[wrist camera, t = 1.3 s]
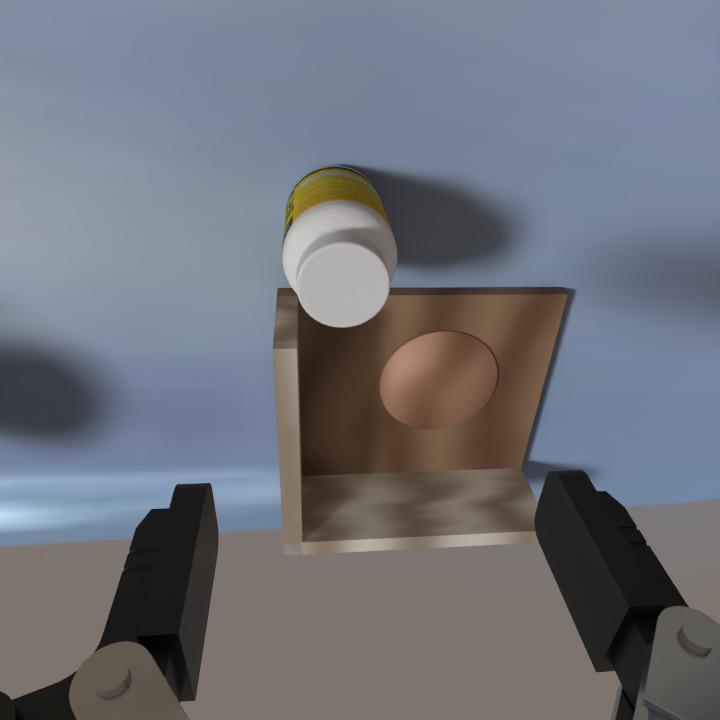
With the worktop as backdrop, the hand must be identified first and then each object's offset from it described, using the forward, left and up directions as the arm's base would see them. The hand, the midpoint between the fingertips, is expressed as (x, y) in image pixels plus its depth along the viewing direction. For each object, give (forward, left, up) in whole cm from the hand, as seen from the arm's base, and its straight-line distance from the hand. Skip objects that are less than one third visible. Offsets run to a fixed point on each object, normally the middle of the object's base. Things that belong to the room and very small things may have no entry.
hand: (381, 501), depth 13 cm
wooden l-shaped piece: (+5, +13, -22) cm, 26 cm away
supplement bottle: (0, 0, -22) cm, 22 cm away
